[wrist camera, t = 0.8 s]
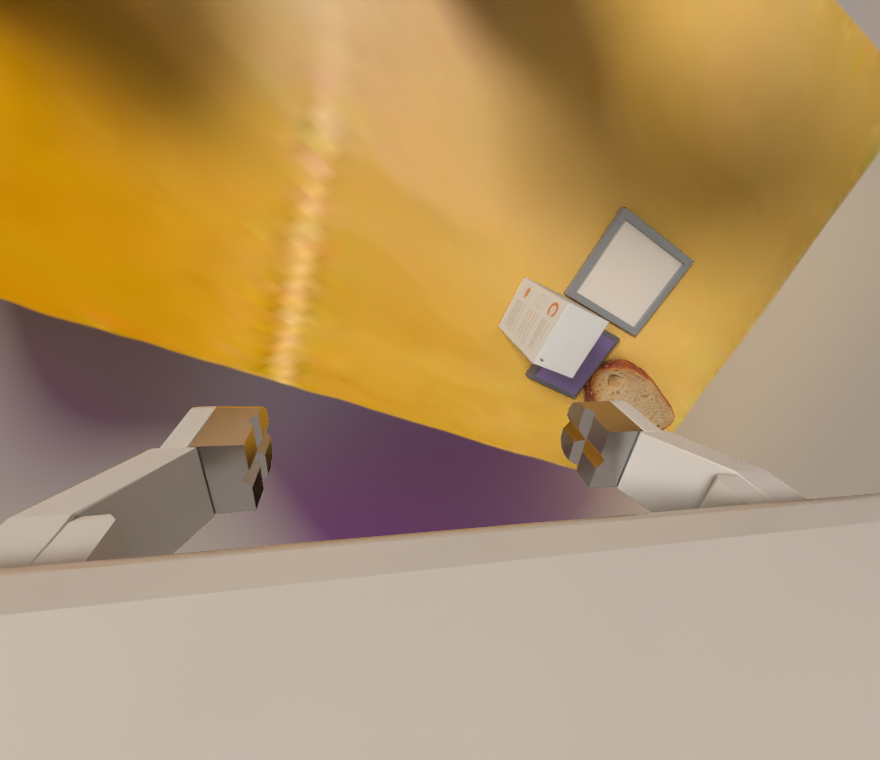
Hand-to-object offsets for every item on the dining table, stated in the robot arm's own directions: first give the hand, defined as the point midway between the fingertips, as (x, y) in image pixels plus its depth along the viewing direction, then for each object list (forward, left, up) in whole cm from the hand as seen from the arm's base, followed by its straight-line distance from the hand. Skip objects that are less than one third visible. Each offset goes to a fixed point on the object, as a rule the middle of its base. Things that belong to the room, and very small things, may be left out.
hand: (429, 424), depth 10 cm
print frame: (-12, +34, -41) cm, 55 cm away
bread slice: (+4, +50, -42) cm, 65 cm away
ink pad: (+2, +34, -41) cm, 54 cm away
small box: (-1, +23, -41) cm, 47 cm away
